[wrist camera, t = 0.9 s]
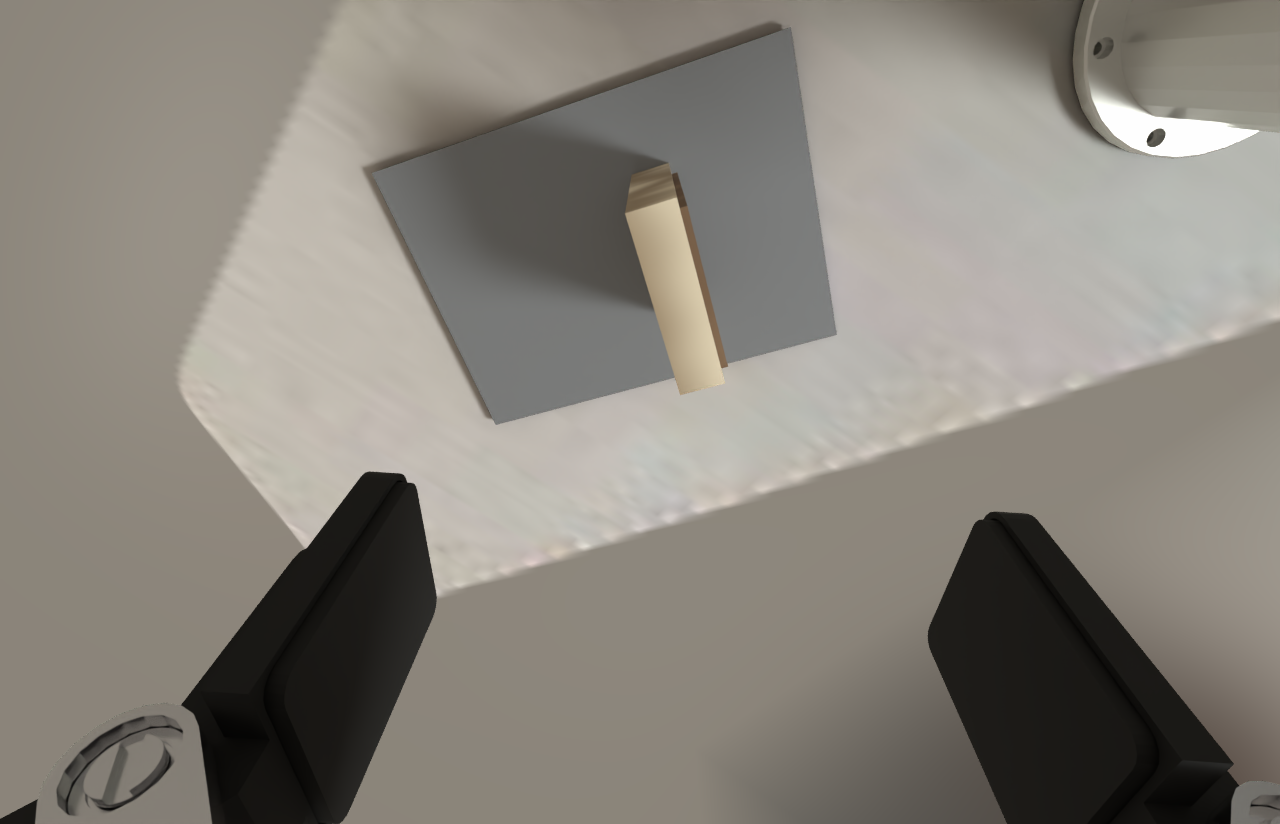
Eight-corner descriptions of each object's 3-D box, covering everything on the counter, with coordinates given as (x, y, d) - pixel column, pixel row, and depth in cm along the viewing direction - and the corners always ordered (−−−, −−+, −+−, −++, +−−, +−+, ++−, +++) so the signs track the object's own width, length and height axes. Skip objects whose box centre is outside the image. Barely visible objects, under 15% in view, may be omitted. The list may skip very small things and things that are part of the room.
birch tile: (674, 160, 30) (684, 195, 22) (710, 303, 34) (732, 381, 25) (631, 174, 31) (625, 213, 22) (672, 314, 34) (680, 394, 26)
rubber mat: (788, 27, 28) (790, 27, 27) (834, 332, 35) (836, 334, 35) (374, 172, 31) (371, 172, 31) (497, 421, 39) (495, 424, 38)
